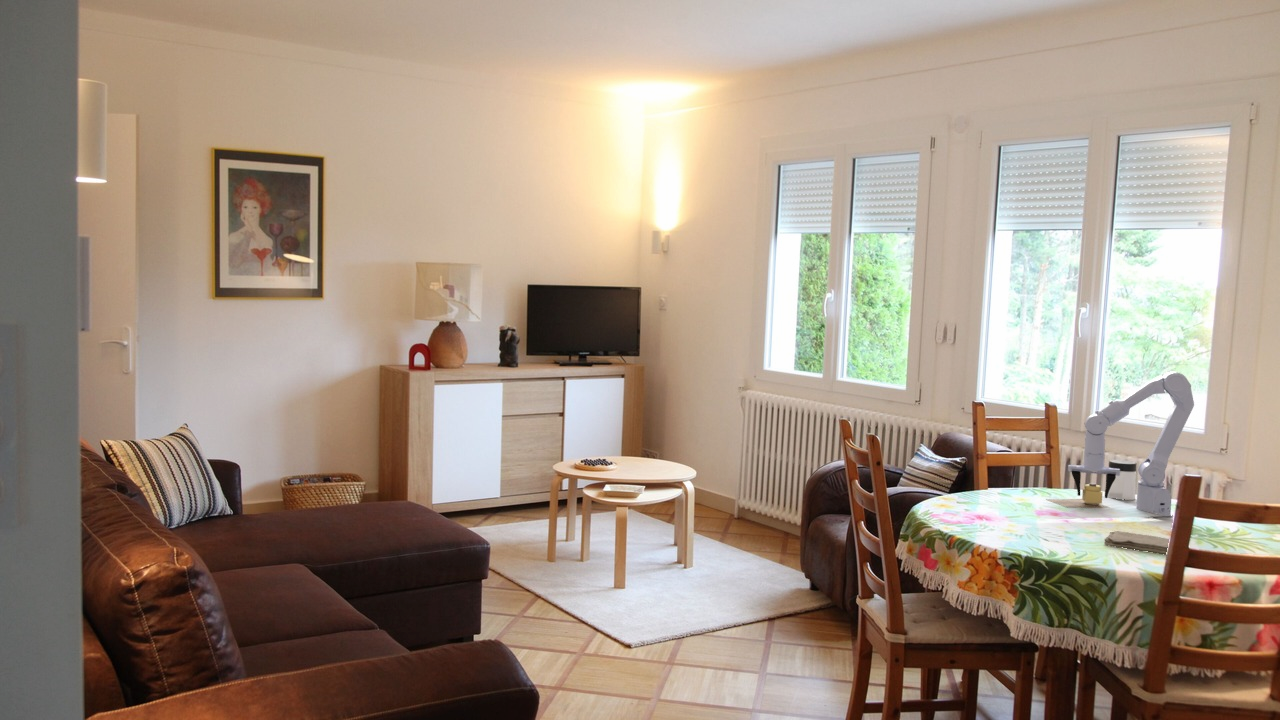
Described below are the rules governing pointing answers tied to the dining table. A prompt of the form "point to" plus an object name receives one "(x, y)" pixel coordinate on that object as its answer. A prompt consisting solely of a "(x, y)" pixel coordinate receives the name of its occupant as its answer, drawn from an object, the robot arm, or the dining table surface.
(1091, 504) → the stud
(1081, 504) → the board
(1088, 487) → the yellow socket block
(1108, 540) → the washcloth
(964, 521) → the dining table surface
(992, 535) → the dining table surface
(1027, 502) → the dining table surface
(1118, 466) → the jar
